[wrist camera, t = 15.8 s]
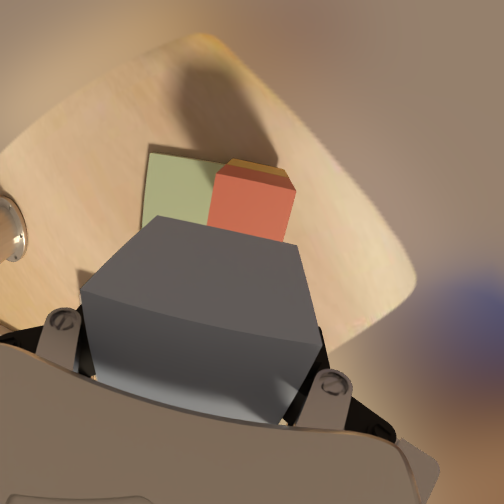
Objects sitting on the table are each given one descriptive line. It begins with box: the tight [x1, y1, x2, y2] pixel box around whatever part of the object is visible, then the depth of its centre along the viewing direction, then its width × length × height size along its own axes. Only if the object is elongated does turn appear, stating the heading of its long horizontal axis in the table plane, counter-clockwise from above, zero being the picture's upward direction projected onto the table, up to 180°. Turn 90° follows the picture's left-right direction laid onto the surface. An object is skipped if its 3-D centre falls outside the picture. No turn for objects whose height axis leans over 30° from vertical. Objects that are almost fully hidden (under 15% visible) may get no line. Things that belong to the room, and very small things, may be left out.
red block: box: [207, 164, 296, 242], centre depth 24 cm, size 6×6×6 cm
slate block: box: [80, 215, 322, 425], centre depth 10 cm, size 6×6×6 cm
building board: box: [142, 152, 226, 228], centre depth 35 cm, size 16×16×1 cm
